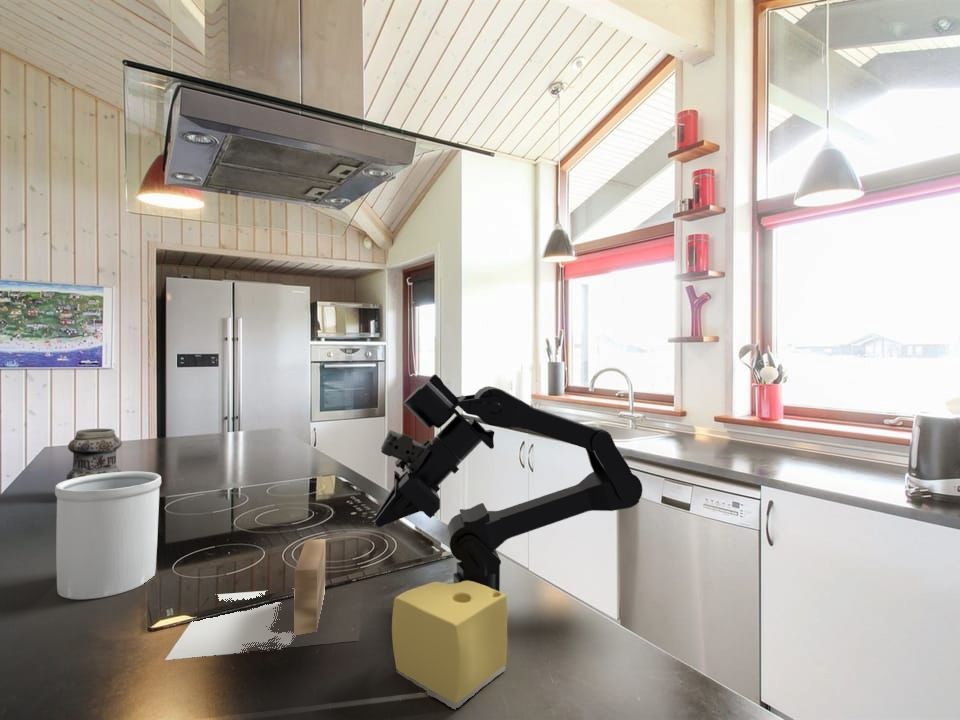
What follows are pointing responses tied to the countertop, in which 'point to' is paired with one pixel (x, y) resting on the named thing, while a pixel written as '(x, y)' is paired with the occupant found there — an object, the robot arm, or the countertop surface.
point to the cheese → (450, 636)
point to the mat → (230, 631)
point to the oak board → (309, 587)
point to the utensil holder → (106, 533)
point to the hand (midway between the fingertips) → (376, 522)
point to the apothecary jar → (94, 452)
